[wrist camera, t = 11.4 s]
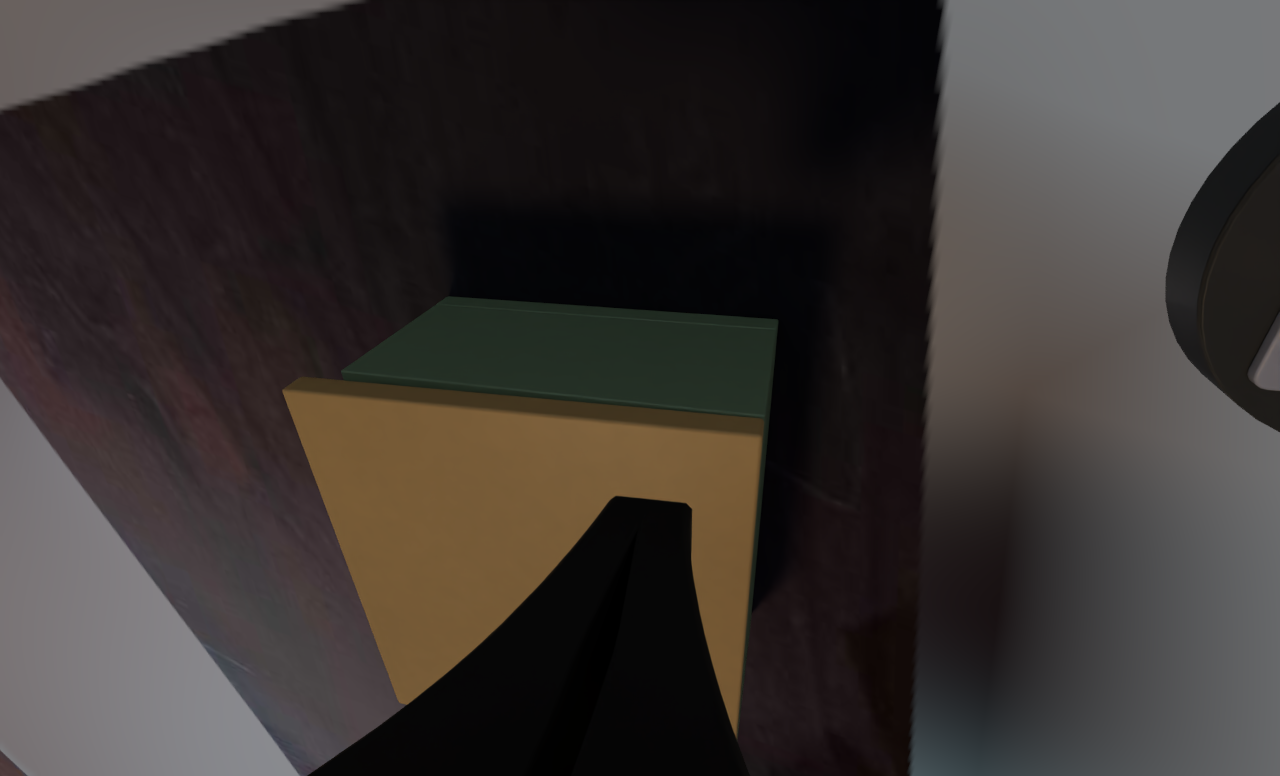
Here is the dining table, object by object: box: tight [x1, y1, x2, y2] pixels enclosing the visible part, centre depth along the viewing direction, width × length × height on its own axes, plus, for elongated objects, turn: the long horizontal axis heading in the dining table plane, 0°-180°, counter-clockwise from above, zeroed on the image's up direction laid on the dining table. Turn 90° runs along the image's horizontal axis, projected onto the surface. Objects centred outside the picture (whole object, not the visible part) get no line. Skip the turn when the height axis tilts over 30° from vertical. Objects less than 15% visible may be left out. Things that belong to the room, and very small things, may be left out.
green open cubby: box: [342, 296, 778, 738], centre depth 21 cm, size 12×14×6 cm
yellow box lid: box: [283, 377, 764, 739], centre depth 18 cm, size 12×14×1 cm
